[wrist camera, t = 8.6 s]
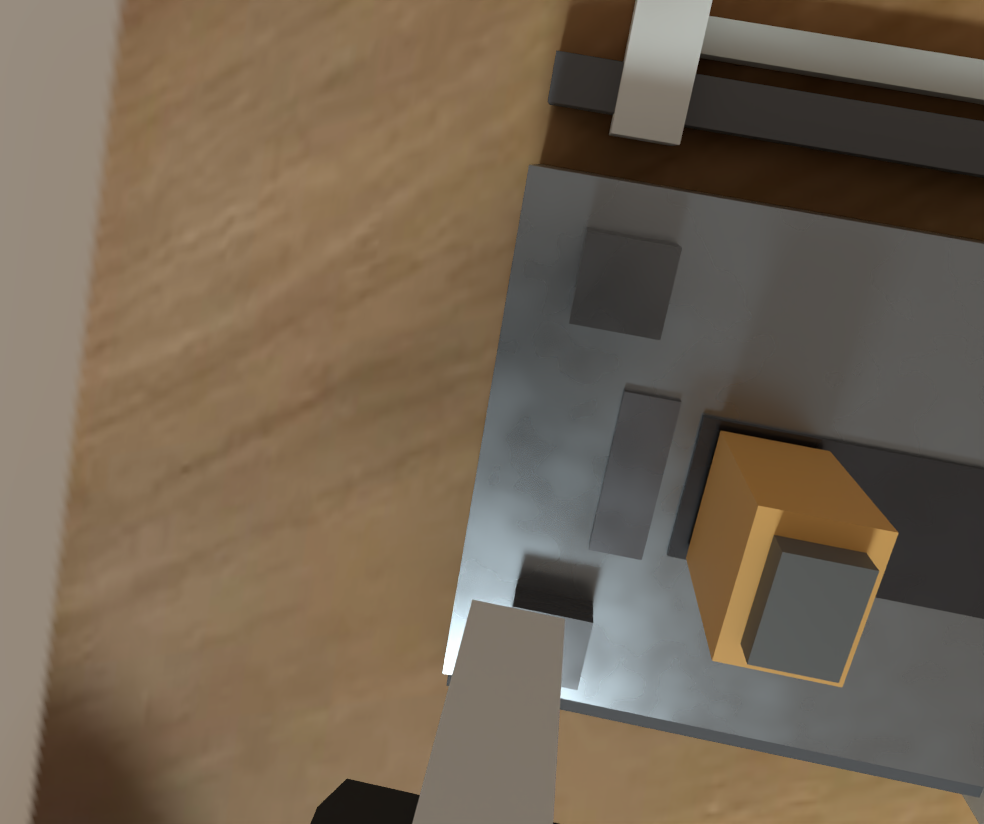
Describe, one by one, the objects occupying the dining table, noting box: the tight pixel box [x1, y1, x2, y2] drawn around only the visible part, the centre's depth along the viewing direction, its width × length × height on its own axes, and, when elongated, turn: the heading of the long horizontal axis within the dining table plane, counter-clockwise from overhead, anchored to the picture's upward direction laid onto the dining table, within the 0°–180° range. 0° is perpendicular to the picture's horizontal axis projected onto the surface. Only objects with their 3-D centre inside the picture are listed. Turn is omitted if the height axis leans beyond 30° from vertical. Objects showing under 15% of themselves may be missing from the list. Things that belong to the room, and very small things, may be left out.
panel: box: [443, 164, 984, 787], centre depth 24 cm, size 24×16×6 cm, turn 81°
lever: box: [686, 431, 898, 687], centre depth 20 cm, size 3×4×6 cm
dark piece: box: [447, 0, 984, 824], centre depth 26 cm, size 24×26×2 cm
